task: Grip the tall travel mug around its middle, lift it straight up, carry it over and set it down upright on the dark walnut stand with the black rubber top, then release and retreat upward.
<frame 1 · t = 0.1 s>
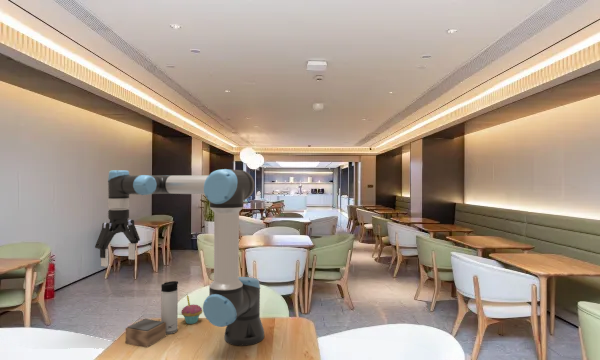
hand: (118, 262, 154), 28 cm above the table, fingers open, 13 cm apart
travel mug: (169, 331, 156), on the table
cupcake: (191, 322, 166), on the table
walnut stand: (146, 340, 147), on the table
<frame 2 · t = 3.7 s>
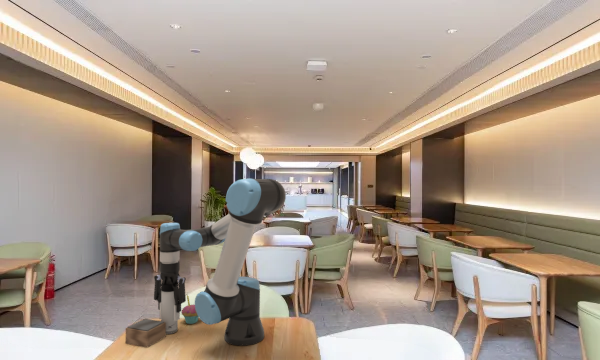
hand: (169, 318, 156), 5 cm above the table, fingers closed on travel mug, 6 cm apart
travel mug: (169, 331, 156), on the table, touching gripper
everything else where it was.
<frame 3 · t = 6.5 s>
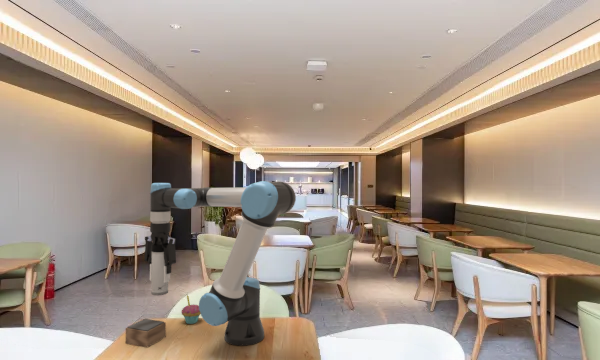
hand: (159, 280, 152), 21 cm above the table, fingers closed on travel mug, 6 cm apart
travel mug: (160, 293, 152), point 16 cm above the table, touching gripper
everything else where it was.
when the fingers open (12 cm above the table, at t = 9.2 s): travel mug drops 1 cm, resting on walnut stand.
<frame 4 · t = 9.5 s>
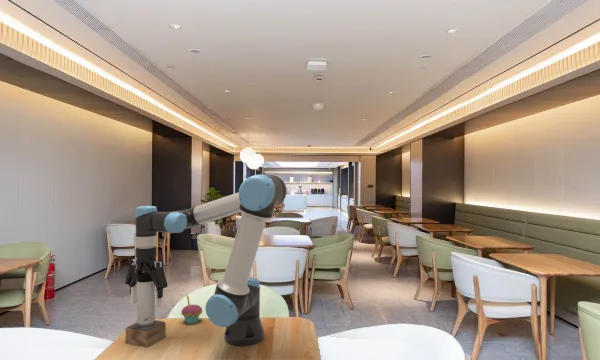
hand: (146, 304, 147), 13 cm above the table, fingers open, 10 cm apart
travel mug: (146, 324, 147), point 6 cm above the table, touching walnut stand
everything else where it was.
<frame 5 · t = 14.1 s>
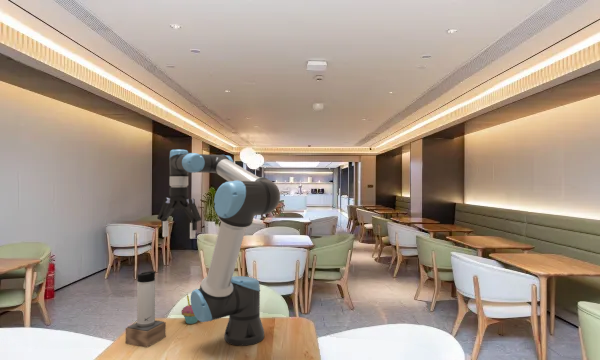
hand: (178, 237, 162), 37 cm above the table, fingers open, 13 cm apart
nothing on the table moved.
at the end: travel mug inside the target area on the walnut stand (0.2 cm from its centre), point 5.8 cm above the walnut stand's base; travel mug tilted 0°; the gripper is holding nothing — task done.
